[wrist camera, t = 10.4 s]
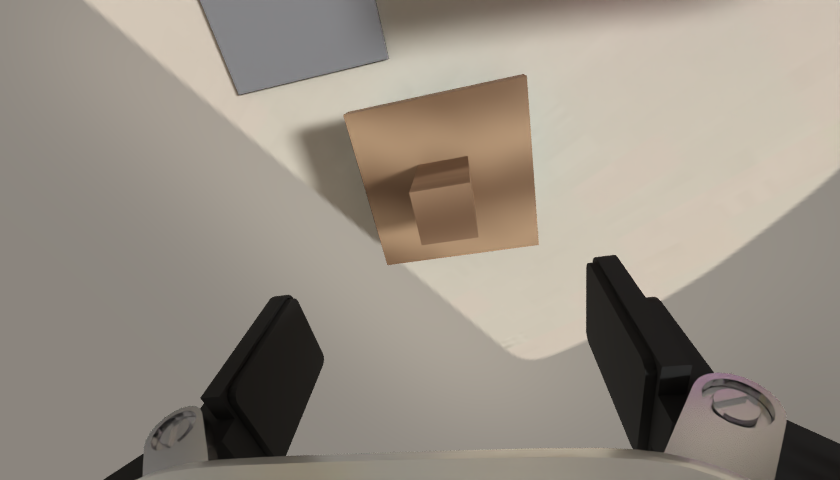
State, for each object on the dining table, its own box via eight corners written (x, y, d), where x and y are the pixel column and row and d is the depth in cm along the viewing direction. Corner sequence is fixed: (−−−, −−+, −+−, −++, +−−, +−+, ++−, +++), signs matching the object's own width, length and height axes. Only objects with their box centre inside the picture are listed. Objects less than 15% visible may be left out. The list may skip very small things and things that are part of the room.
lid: (348, 111, 23) (315, 132, 18) (523, 74, 22) (545, 84, 16) (390, 256, 28) (374, 307, 23) (535, 236, 26) (555, 286, 21)
